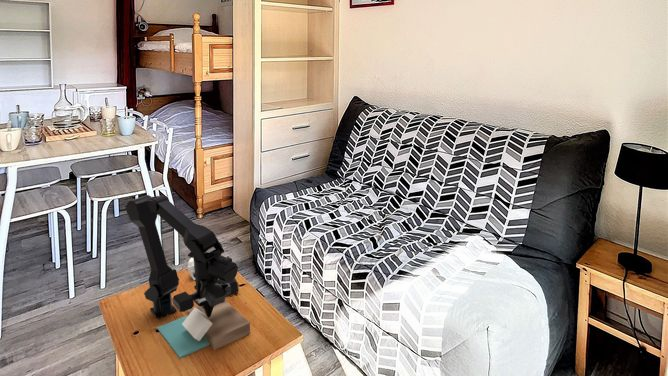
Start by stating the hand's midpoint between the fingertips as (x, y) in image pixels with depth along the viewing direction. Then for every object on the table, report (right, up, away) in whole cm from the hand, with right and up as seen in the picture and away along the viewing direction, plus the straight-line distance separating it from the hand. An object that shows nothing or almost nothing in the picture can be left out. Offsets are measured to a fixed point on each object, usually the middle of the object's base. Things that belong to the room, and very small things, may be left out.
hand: (208, 316), depth 134 cm
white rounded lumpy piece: (-10, +5, +31) cm, 33 cm away
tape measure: (+1, +2, +24) cm, 24 cm away
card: (-3, -1, -2) cm, 4 cm away
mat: (-7, -6, -1) cm, 9 cm away
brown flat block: (+2, -4, +4) cm, 6 cm away
